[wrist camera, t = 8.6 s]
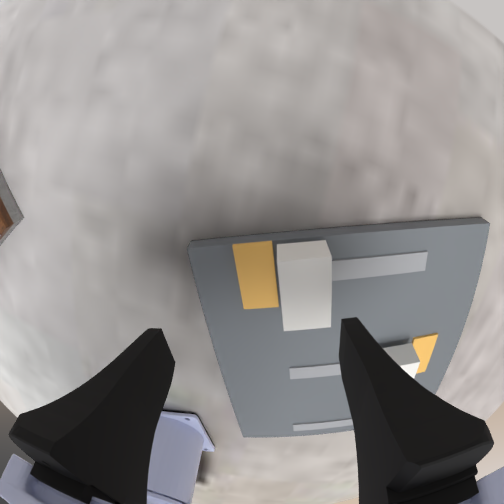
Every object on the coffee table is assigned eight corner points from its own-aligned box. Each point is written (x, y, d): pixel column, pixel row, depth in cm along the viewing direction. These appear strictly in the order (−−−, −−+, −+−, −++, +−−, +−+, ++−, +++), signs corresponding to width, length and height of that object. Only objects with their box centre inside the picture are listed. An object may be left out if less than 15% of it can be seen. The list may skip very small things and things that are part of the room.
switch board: (244, 429, 25) (243, 438, 24) (191, 240, 16) (185, 250, 15) (421, 408, 23) (424, 416, 22) (481, 217, 14) (491, 224, 13)
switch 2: (371, 385, 19) (375, 404, 17) (379, 348, 17) (386, 368, 15) (400, 380, 18) (406, 397, 17) (411, 343, 17) (420, 361, 15)
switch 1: (283, 309, 16) (283, 331, 14) (276, 244, 14) (277, 261, 13) (326, 306, 16) (330, 327, 14) (325, 240, 14) (331, 256, 12)
